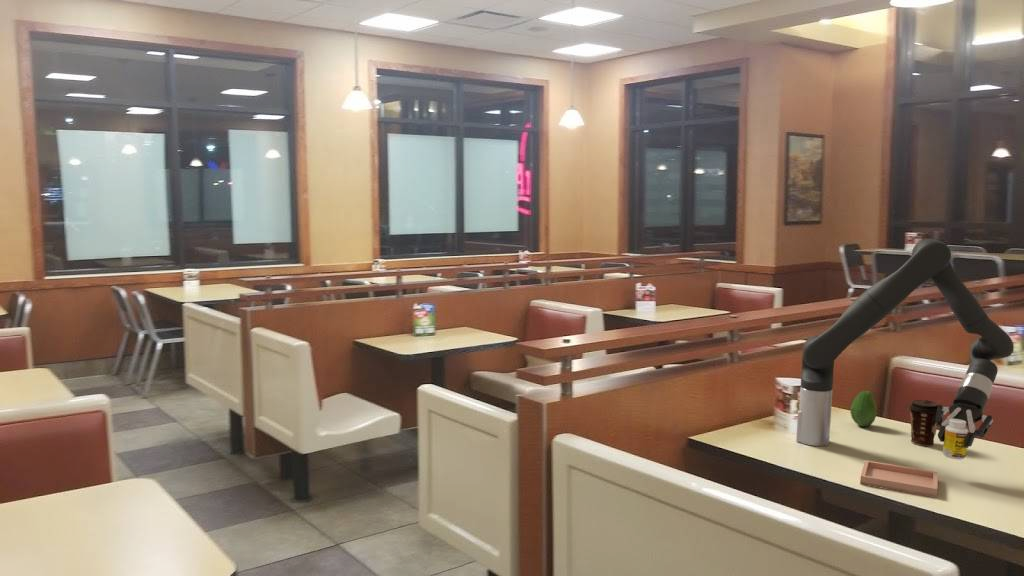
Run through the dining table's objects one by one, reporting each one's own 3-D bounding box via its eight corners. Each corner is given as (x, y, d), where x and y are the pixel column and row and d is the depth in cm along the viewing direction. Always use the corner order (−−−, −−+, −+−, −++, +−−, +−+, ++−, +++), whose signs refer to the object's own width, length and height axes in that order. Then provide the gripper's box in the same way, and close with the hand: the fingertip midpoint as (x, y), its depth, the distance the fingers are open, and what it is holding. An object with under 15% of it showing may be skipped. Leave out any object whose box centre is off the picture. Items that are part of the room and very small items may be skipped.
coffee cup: (931, 439, 243) (934, 399, 241) (943, 448, 235) (946, 407, 233) (902, 438, 244) (905, 398, 242) (913, 447, 236) (916, 405, 234)
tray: (860, 484, 205) (860, 476, 205) (864, 467, 217) (865, 460, 217) (936, 497, 197) (937, 489, 196) (936, 479, 209) (937, 471, 208)
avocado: (878, 425, 257) (880, 390, 256) (872, 430, 251) (874, 395, 250) (852, 420, 262) (855, 386, 261) (846, 426, 256) (848, 391, 254)
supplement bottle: (953, 461, 206) (957, 424, 205) (937, 453, 212) (941, 418, 210) (970, 459, 208) (974, 423, 206) (954, 452, 213) (958, 417, 212)
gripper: (943, 380, 217) (922, 429, 211) (1000, 391, 207) (980, 443, 201) (948, 395, 222) (927, 443, 215) (1004, 406, 211) (985, 457, 205)
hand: (953, 443), depth 208 cm, fingers closed on supplement bottle, 5 cm apart
